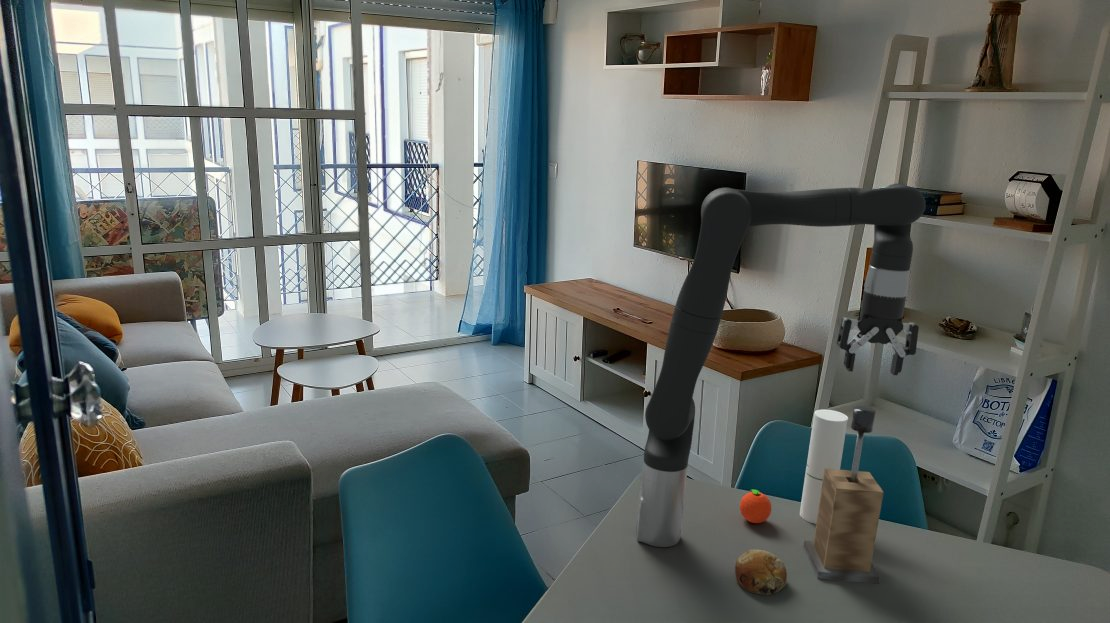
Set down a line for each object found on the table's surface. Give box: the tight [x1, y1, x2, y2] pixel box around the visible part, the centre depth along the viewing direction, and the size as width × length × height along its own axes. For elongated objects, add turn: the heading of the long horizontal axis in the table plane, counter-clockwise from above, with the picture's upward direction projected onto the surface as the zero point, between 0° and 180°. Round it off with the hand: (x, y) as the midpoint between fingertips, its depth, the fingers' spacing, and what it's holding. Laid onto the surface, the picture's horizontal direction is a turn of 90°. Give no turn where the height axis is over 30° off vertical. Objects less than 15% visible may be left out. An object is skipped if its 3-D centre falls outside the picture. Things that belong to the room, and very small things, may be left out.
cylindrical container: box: [799, 409, 849, 525], centre depth 181 cm, size 7×7×25 cm
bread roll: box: [734, 549, 788, 596], centre depth 157 cm, size 10×10×8 cm
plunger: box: [850, 405, 876, 483], centre depth 159 cm, size 7×7×24 cm
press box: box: [803, 469, 884, 584], centre depth 162 cm, size 12×12×19 cm
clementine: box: [739, 489, 772, 524], centre depth 180 cm, size 8×7×7 cm
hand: (871, 372), depth 155 cm, fingers open, 8 cm apart
